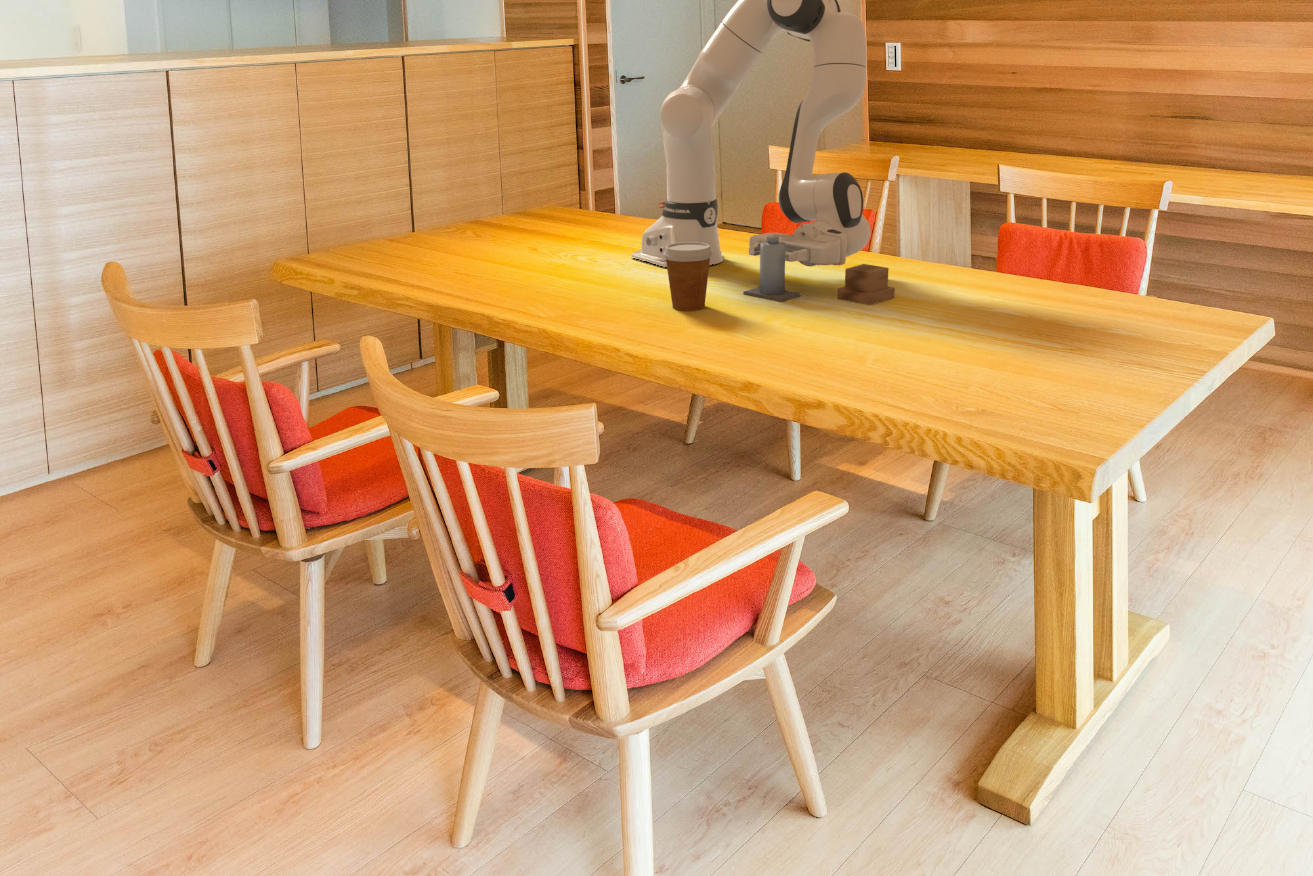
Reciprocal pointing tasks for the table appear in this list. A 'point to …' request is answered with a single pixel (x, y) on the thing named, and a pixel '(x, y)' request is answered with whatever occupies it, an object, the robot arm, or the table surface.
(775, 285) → the gray bottle
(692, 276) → the disposable coffee cup
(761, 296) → the mat
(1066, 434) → the table surface
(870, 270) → the brown stepped pedestal
